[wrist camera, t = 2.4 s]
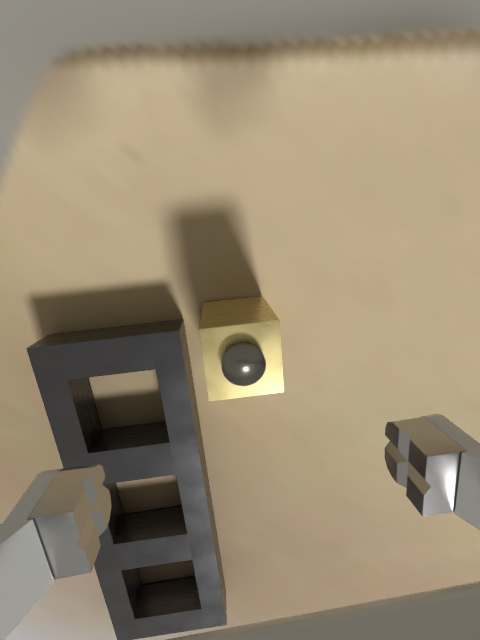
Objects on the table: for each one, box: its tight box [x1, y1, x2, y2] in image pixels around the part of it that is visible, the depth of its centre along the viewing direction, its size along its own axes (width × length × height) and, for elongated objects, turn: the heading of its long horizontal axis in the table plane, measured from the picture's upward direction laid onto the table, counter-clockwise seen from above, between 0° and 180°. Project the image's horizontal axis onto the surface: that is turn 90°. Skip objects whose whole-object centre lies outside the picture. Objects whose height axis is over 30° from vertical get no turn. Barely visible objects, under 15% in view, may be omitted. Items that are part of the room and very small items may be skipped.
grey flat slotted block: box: [26, 320, 227, 640], centre depth 23 cm, size 9×26×2 cm, turn 6°
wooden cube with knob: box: [199, 296, 284, 401], centre depth 19 cm, size 4×4×6 cm
